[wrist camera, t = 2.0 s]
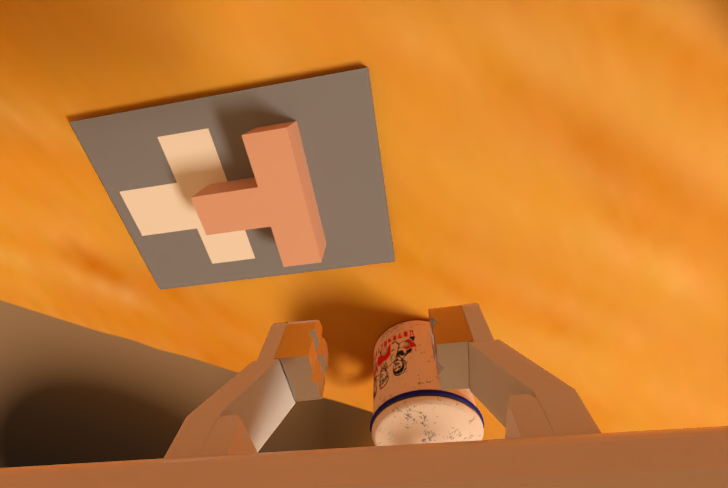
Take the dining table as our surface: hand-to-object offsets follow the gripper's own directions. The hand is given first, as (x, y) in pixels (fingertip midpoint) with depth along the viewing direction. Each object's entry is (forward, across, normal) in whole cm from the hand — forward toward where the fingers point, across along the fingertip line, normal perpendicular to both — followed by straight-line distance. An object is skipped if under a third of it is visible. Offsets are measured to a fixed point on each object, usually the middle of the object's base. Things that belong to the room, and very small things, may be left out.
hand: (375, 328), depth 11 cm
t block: (+16, +9, 0) cm, 19 cm away
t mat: (+17, +10, 0) cm, 20 cm away
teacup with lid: (+17, 0, +20) cm, 26 cm away
